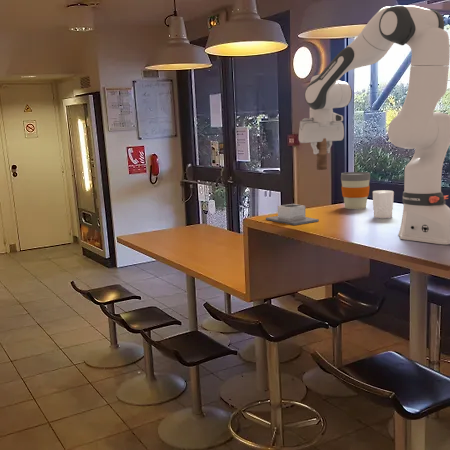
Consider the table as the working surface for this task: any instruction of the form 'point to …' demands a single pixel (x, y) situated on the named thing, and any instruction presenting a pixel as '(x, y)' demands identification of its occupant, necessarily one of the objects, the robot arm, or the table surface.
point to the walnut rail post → (322, 155)
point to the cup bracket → (292, 215)
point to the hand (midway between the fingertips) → (321, 153)
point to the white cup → (383, 203)
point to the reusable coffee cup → (355, 189)
